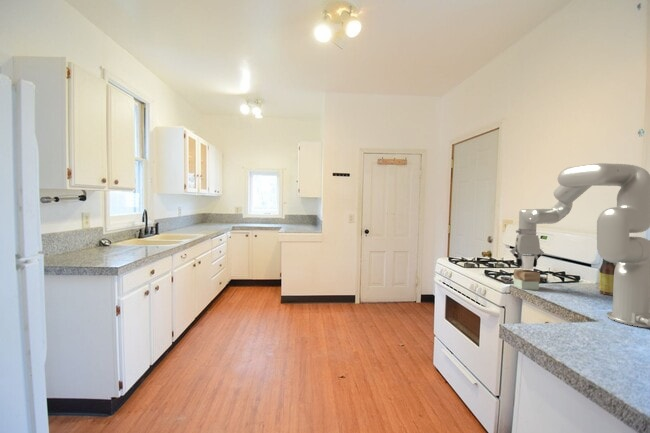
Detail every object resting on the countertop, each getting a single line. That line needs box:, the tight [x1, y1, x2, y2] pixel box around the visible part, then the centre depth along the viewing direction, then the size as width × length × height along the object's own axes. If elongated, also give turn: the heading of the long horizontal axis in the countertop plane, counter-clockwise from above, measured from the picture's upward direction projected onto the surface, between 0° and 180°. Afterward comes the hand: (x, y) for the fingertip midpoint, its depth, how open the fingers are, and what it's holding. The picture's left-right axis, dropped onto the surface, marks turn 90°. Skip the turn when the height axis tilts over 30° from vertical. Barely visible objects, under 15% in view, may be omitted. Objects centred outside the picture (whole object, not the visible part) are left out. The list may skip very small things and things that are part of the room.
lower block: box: [513, 277, 540, 291], centre depth 147 cm, size 8×8×4 cm
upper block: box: [513, 269, 541, 283], centre depth 147 cm, size 8×8×4 cm
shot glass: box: [519, 254, 535, 270], centre depth 147 cm, size 7×7×7 cm
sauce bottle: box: [598, 258, 616, 297], centre depth 136 cm, size 7×6×20 cm
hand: (526, 265), depth 147 cm, fingers open, 6 cm apart
